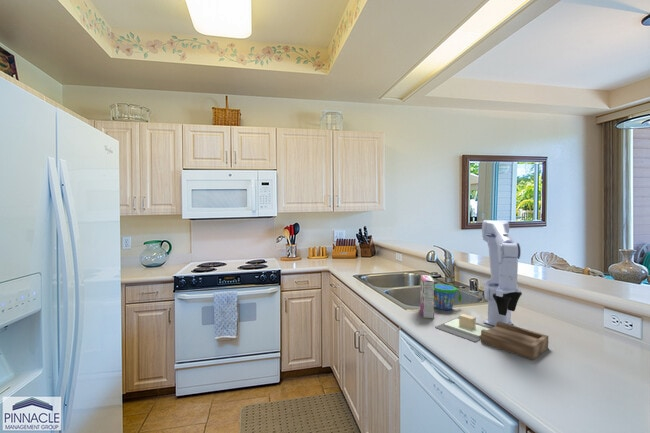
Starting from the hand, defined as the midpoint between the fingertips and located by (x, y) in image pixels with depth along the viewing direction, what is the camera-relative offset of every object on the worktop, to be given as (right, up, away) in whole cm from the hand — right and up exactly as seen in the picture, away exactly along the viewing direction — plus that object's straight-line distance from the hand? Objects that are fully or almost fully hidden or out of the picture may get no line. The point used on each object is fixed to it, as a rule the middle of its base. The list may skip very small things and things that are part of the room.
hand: (506, 312), depth 110 cm
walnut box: (-1, -10, -5) cm, 11 cm away
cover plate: (-11, -9, +8) cm, 16 cm away
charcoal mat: (-11, -9, +8) cm, 17 cm away
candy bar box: (-21, -9, +24) cm, 33 cm away
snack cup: (-10, -9, +33) cm, 35 cm away
